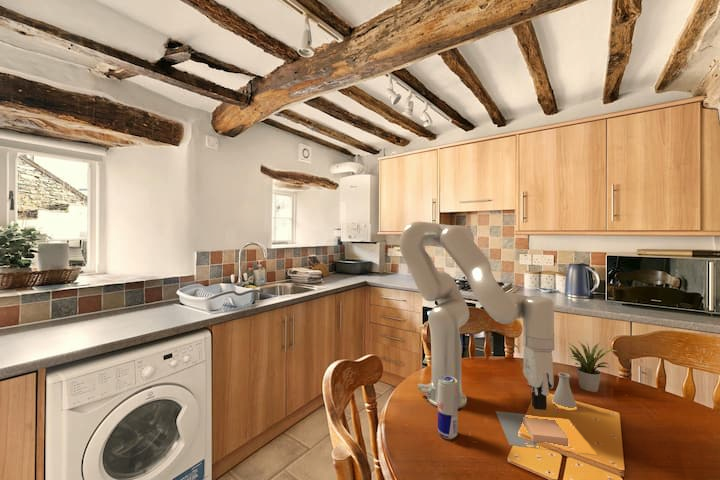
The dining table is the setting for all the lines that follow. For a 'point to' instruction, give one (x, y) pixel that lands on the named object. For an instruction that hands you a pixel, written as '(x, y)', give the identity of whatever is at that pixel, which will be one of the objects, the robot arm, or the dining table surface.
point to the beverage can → (447, 407)
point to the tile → (545, 431)
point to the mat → (513, 428)
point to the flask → (564, 392)
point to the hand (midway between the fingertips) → (539, 407)
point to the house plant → (589, 367)
